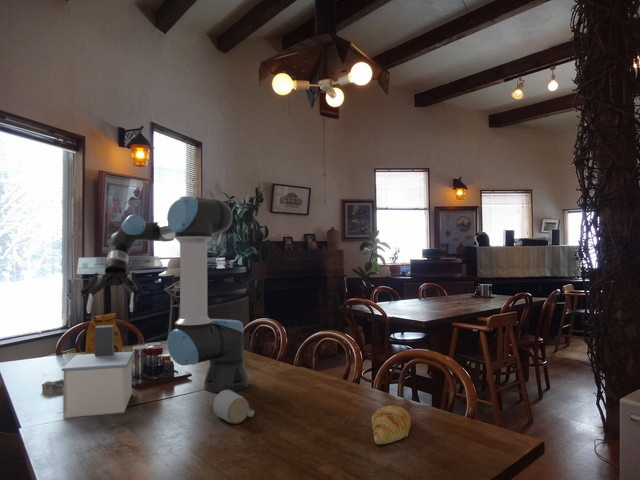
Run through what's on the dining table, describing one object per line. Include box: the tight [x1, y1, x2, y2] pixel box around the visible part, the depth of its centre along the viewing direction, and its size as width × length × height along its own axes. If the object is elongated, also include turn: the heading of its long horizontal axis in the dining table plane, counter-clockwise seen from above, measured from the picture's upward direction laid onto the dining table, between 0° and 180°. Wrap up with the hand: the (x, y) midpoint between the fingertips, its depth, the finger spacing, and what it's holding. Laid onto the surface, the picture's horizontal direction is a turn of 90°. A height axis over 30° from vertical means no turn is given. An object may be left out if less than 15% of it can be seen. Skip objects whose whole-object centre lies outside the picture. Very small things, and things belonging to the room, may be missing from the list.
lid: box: [61, 325, 135, 372], centre depth 142 cm, size 18×17×10 cm
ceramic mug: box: [212, 390, 255, 425], centre depth 129 cm, size 11×8×8 cm
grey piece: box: [41, 378, 64, 397], centre depth 156 cm, size 11×8×4 cm
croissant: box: [371, 404, 412, 445], centre depth 119 cm, size 21×10×8 cm, turn 154°
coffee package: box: [85, 312, 123, 354], centre depth 184 cm, size 10×12×22 cm
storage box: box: [62, 357, 133, 418], centre depth 141 cm, size 18×16×13 cm
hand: (109, 310), depth 159 cm, fingers open, 13 cm apart
